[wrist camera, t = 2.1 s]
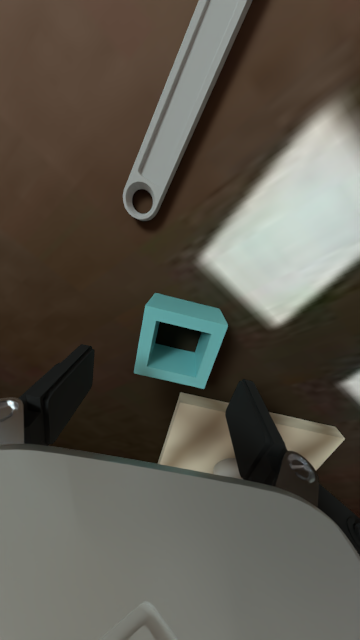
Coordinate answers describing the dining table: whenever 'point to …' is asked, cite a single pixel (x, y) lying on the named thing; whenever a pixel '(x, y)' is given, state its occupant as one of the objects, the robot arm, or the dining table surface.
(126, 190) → the adjustable wrench
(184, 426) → the post stand
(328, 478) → the dining table surface
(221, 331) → the collar
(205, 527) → the robot arm
